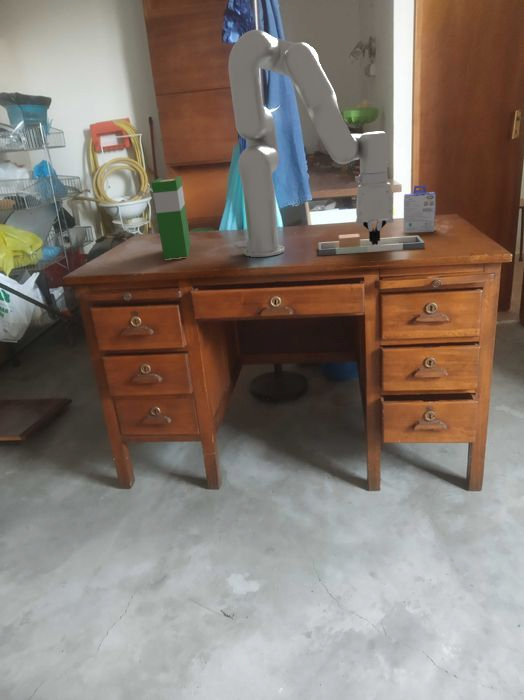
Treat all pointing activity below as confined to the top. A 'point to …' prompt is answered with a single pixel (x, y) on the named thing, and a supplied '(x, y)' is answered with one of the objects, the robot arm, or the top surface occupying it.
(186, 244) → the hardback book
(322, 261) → the top surface
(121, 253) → the top surface
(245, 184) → the robot arm
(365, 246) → the track
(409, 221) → the ink cartridge box
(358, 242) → the terracotta block
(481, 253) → the top surface
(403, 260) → the top surface
